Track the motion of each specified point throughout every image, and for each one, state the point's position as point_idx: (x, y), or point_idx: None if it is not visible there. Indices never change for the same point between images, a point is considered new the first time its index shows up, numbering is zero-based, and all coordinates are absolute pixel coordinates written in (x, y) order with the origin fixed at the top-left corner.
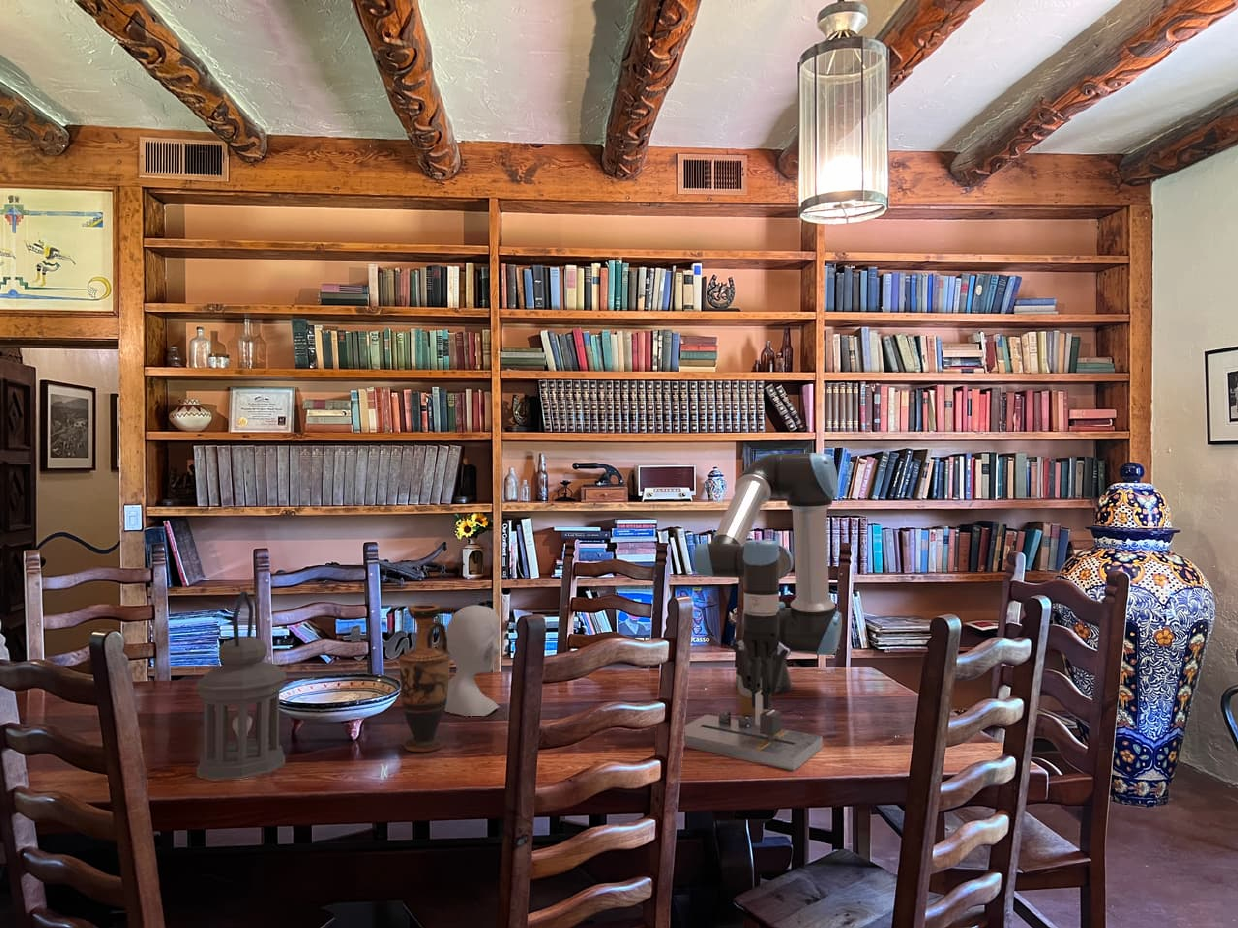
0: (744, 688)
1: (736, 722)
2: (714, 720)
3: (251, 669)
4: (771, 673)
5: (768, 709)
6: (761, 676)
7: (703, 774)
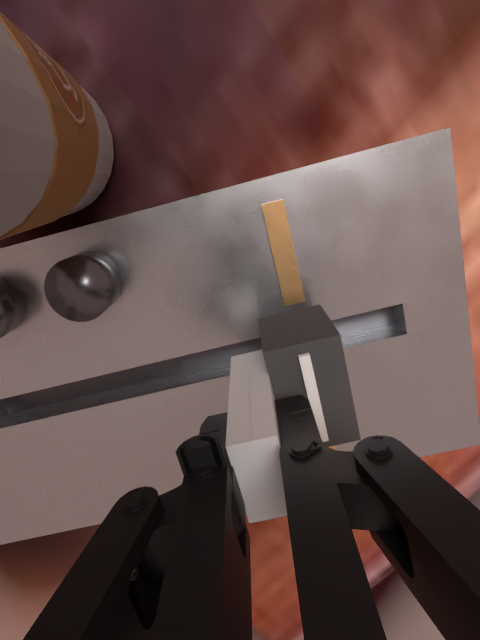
0: None
1: (35, 275)
2: None
3: None
4: (364, 570)
5: (82, 111)
6: None
7: (274, 607)
